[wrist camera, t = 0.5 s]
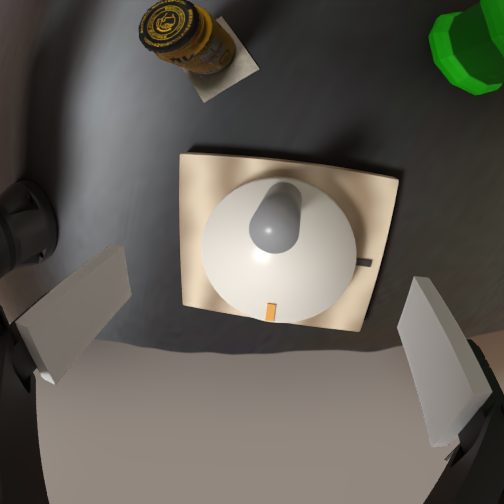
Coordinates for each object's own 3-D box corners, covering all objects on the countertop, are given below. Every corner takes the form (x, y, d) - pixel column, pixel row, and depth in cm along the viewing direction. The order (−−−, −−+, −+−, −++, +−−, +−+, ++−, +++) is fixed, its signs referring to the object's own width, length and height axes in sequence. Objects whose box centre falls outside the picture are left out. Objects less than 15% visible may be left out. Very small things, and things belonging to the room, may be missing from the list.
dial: (206, 301, 39) (175, 358, 29) (208, 169, 31) (163, 192, 22) (337, 321, 36) (341, 386, 26) (366, 188, 29) (394, 221, 19)
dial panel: (188, 297, 42) (182, 306, 40) (186, 152, 33) (178, 154, 31) (358, 322, 39) (359, 333, 37) (393, 176, 30) (399, 180, 28)
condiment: (221, 16, 26) (181, -25, 15) (259, 69, 28) (234, 41, 17) (170, 50, 28) (113, 27, 18) (205, 103, 31) (155, 95, 20)
